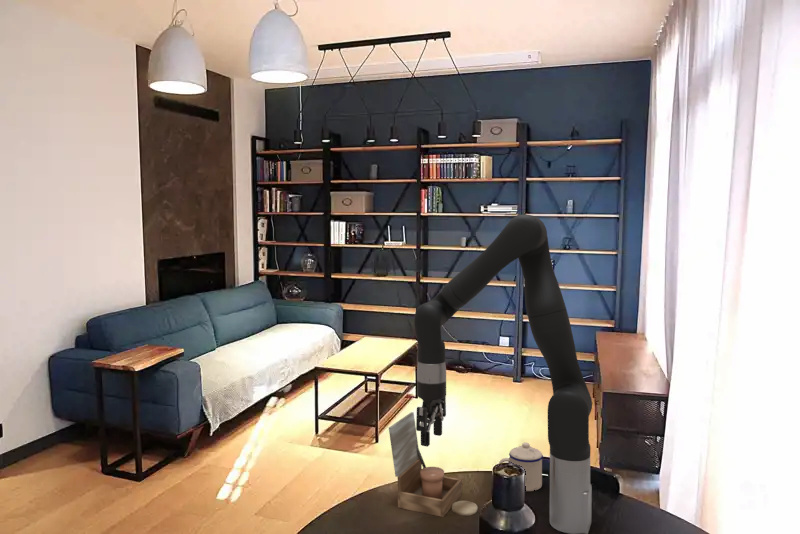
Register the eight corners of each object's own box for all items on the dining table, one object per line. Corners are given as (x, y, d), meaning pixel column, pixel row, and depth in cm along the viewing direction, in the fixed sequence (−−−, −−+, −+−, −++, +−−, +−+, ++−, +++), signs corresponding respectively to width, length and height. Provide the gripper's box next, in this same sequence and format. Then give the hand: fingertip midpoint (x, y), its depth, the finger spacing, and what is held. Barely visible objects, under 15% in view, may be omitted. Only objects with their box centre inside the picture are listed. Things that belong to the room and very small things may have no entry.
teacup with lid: (540, 478, 165) (540, 438, 164) (545, 492, 156) (545, 450, 155) (497, 477, 166) (497, 437, 165) (499, 491, 157) (499, 449, 156)
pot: (447, 496, 153) (447, 468, 153) (439, 506, 148) (438, 478, 147) (426, 491, 156) (425, 465, 156) (416, 501, 150) (416, 473, 150)
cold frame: (461, 494, 156) (461, 418, 154) (443, 517, 143) (442, 435, 142) (411, 484, 162) (410, 411, 161) (389, 505, 150) (388, 427, 148)
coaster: (480, 506, 148) (480, 503, 148) (472, 517, 143) (472, 514, 143) (457, 501, 151) (457, 498, 151) (448, 512, 145) (448, 509, 145)
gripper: (434, 387, 142) (434, 452, 143) (454, 373, 155) (454, 433, 156) (406, 383, 145) (407, 447, 146) (428, 371, 158) (429, 429, 159)
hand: (431, 440), depth 151 cm, fingers open, 8 cm apart
